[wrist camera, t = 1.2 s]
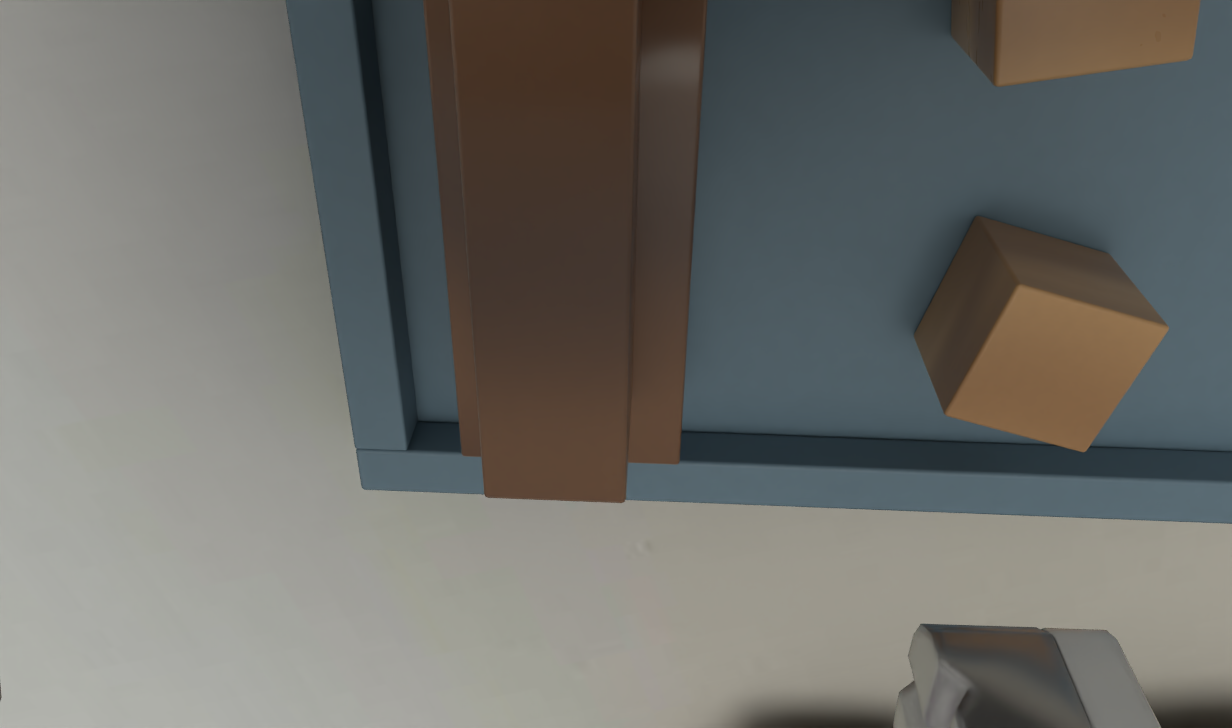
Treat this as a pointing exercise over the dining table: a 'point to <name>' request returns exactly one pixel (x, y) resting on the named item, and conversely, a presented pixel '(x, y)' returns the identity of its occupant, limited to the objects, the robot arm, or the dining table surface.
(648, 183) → the brush
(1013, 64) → the light brown wooden cube
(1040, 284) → the brown wooden cube
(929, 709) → the robot arm
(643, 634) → the dining table surface
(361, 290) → the tray
